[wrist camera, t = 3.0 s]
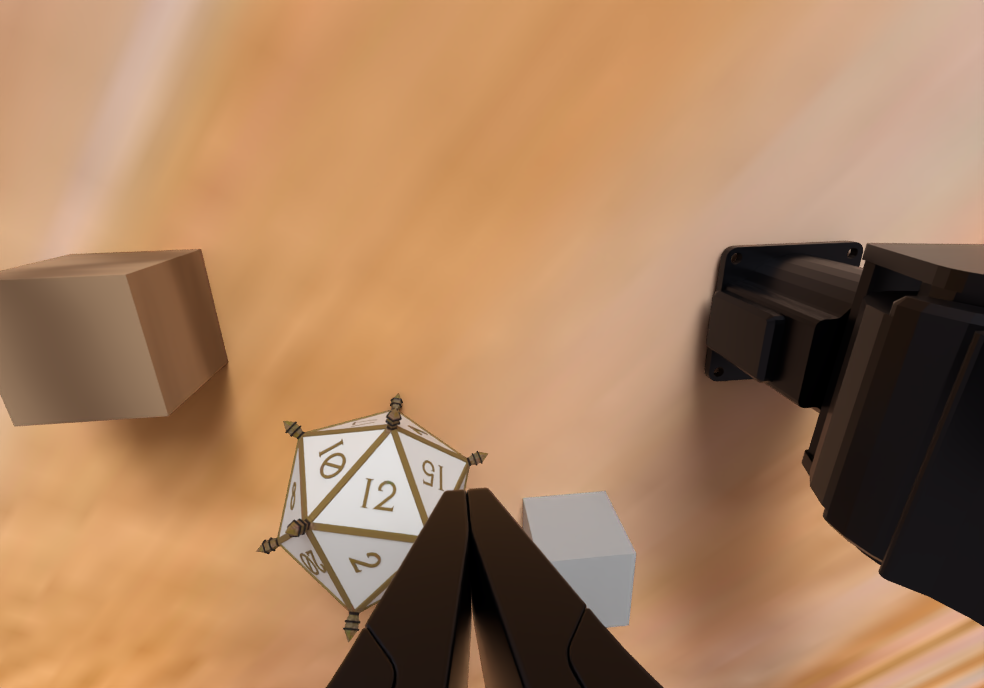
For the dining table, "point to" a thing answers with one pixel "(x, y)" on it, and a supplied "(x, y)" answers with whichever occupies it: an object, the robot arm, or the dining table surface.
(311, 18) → the dining table surface
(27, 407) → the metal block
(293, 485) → the game die
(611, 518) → the slate block
